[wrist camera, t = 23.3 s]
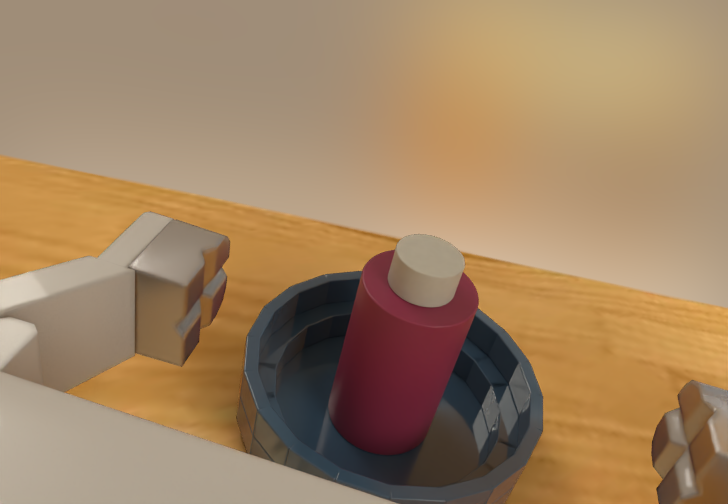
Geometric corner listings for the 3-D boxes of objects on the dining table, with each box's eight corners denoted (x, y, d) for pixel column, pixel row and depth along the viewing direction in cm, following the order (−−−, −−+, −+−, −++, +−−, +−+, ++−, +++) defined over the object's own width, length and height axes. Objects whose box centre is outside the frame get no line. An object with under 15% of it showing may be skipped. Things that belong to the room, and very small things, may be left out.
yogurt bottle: (435, 392, 38) (495, 240, 32) (420, 470, 34) (486, 310, 28) (342, 362, 39) (383, 206, 33) (315, 435, 34) (357, 270, 28)
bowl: (520, 368, 42) (544, 319, 40) (508, 600, 30) (541, 549, 27) (290, 295, 44) (300, 243, 41) (185, 489, 31) (190, 431, 29)
